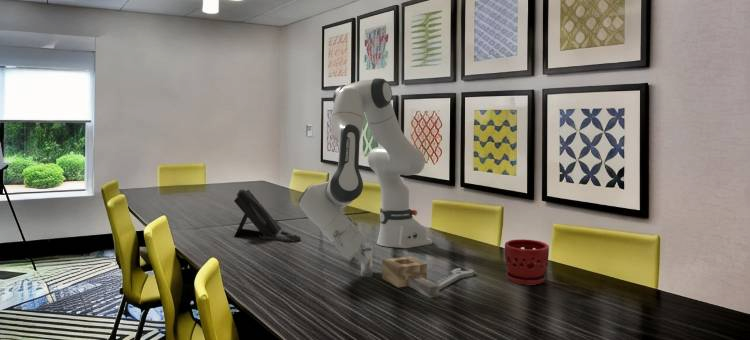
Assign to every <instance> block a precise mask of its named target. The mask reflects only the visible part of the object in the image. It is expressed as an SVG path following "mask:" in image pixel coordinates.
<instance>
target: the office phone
mask: <svg viewBox="0 0 750 340" xmlns="http://www.w3.org/2000/svg"><path fill="white" fill-rule="evenodd" d="M233 202H234V204H236V206H238V208H239V209H240V210H241V211H242V212H243V213H244V215H243V217H242V218H241V221H240V223H239V225H238V227H237V230H236V232H235V234H234V236H237V235H238V234H239V233H240V232H241V231H242V230H243V228H244V226H245V225H246V223H247V220H248V219H249V220H250V222H251V223H252V224H253V225H254V226H255V227H256V228H257V230H258V231H259V235H258V236H259V238H261V239H262V240H265V241H280V242H286V243H294V242H300V241H301V237H300V236H299V235H294V234H291V233H289V232H285V231H283V230H282V231H281V232H280V233H278V232H279V231H280V230H281V229H282V227H281V226H280V225H279V224H278V222H277V221H276V220H275V219H274V218H273V217H272V215H271V214H270V212H268V211H267V210H266V209H265V207H264V206H263V205H262V204H261V203H260V201H259V200H258V199H257V198H256V196H255V195H254V194H253V193H252V192H251V190H249V189H247V190H245V189H239V190H238V192H237V194H236V197H235V199H234V201H233ZM262 235H263V236H262ZM276 235H282V236H286V237H280V236H276ZM287 237H288V238H287Z"/></svg>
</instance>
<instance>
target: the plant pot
mask: <svg viewBox="0 0 750 340" xmlns="http://www.w3.org/2000/svg"><path fill="white" fill-rule="evenodd" d="M549 253H550V245H548V244H547V243H546V242H543V241H541V240H534V239H512V240H511V239H510V240H508V241H506V242H505V243H504V259H505V264H506V265H505V266H506V268H507V270H508V271H507V272H506V278H507V279H508V280H509V281H511V282H513V283H515V284H517V283H518V285H522V284H524V285H523V286H537V285H536V284H539V285H540V283H541V284H542V283H544V282H545V281H546V275H545V274H544V273H545V272H546V270H547V267H548V264H549Z"/></svg>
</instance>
